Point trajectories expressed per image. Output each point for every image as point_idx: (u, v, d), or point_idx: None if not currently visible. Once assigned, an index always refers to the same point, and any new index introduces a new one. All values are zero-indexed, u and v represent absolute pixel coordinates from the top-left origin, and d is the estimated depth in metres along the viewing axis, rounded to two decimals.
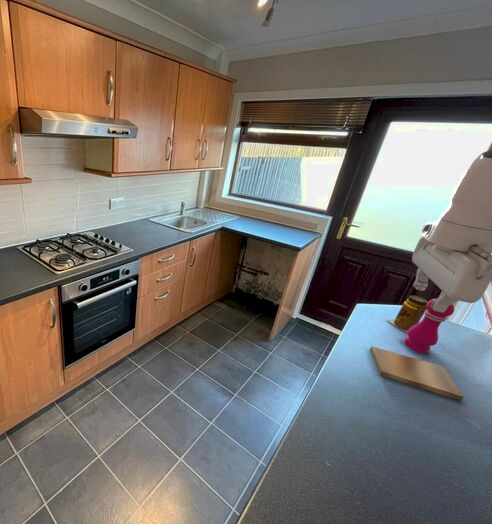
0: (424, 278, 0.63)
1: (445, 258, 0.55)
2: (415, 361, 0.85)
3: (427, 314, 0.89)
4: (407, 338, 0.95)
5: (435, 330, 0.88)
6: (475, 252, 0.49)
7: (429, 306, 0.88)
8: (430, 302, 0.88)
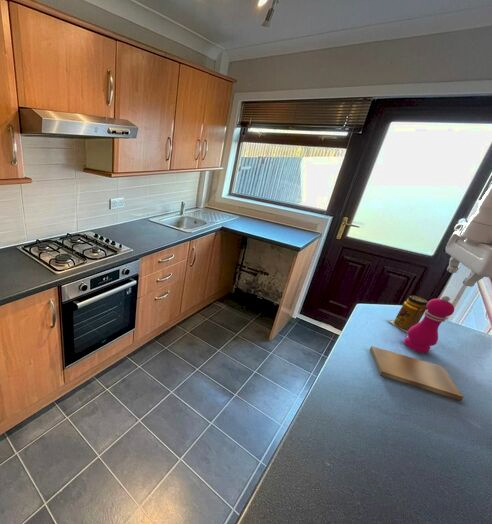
0: (455, 264, 0.86)
1: (473, 248, 0.77)
2: (415, 361, 0.85)
3: (427, 314, 0.89)
4: (407, 338, 0.95)
5: (435, 330, 0.88)
6: None
7: (429, 306, 0.88)
8: (430, 302, 0.88)
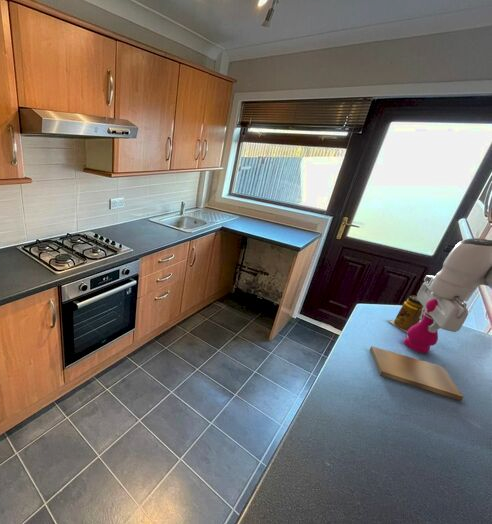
0: None
1: (439, 301, 0.86)
2: (415, 361, 0.85)
3: (426, 314, 0.89)
4: (407, 338, 0.95)
5: None
6: (457, 301, 0.80)
7: (428, 306, 0.88)
8: (429, 302, 0.88)
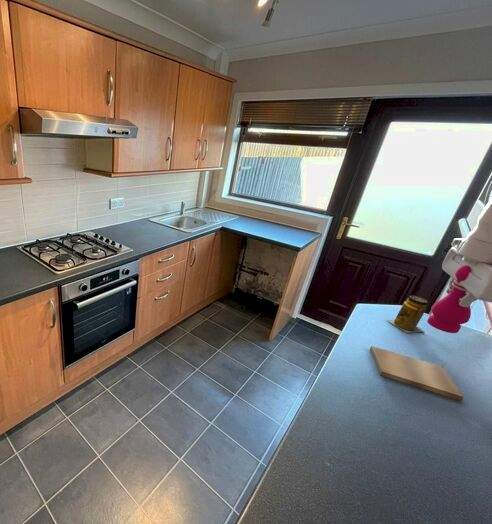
0: None
1: (473, 267, 0.69)
2: (415, 361, 0.85)
3: (456, 284, 0.72)
4: (431, 317, 0.78)
5: None
6: None
7: (459, 274, 0.71)
8: (460, 269, 0.71)
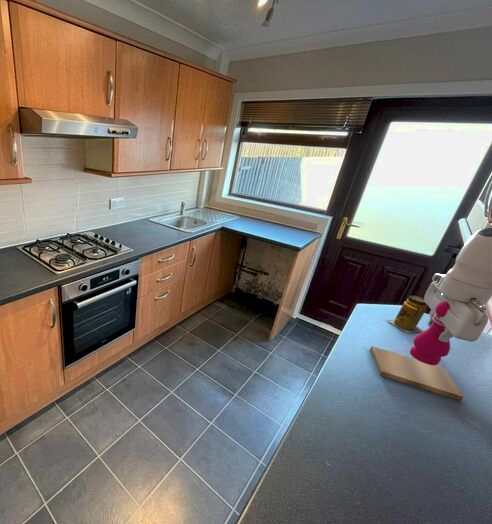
0: None
1: (451, 305, 0.72)
2: (415, 361, 0.85)
3: (436, 319, 0.75)
4: (413, 348, 0.81)
5: None
6: (474, 304, 0.66)
7: (438, 310, 0.74)
8: (439, 305, 0.74)
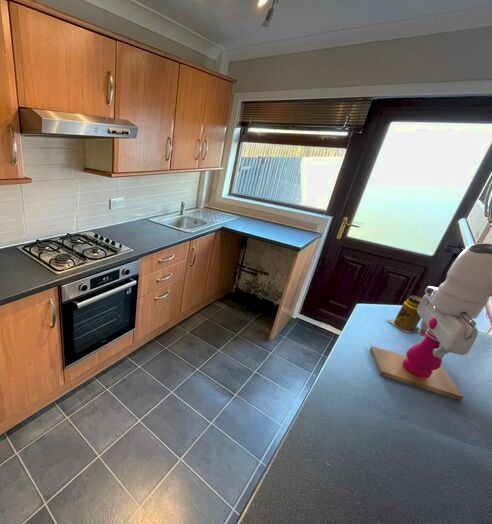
0: (427, 327, 0.82)
1: (442, 318, 0.73)
2: None
3: (429, 334, 0.77)
4: (406, 360, 0.83)
5: None
6: (464, 318, 0.68)
7: (432, 325, 0.76)
8: (433, 320, 0.76)
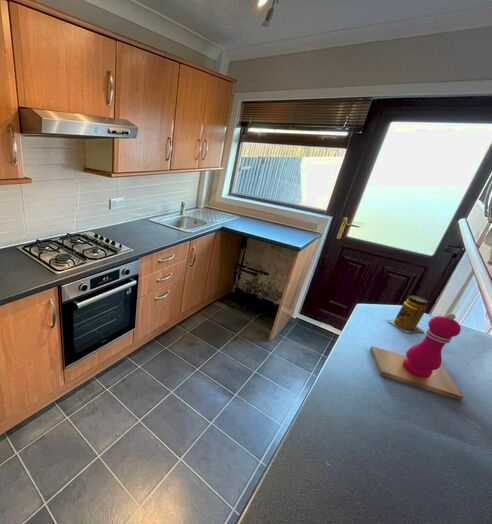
0: None
1: None
2: None
3: (429, 334, 0.77)
4: (406, 360, 0.83)
5: (438, 352, 0.76)
6: None
7: (431, 325, 0.76)
8: (432, 320, 0.76)
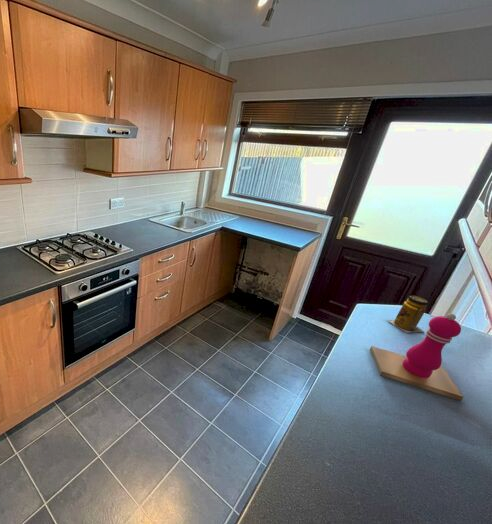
0: None
1: None
2: None
3: (429, 334, 0.77)
4: (406, 360, 0.83)
5: (438, 352, 0.76)
6: None
7: (432, 325, 0.76)
8: (433, 320, 0.76)
